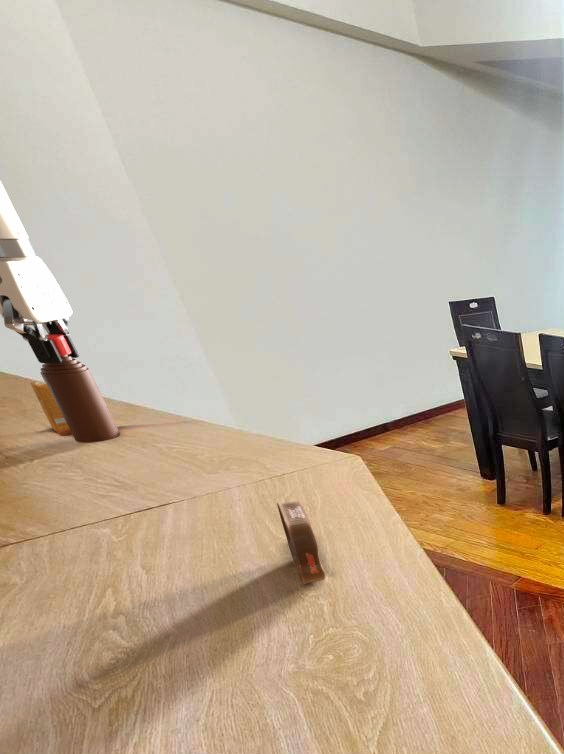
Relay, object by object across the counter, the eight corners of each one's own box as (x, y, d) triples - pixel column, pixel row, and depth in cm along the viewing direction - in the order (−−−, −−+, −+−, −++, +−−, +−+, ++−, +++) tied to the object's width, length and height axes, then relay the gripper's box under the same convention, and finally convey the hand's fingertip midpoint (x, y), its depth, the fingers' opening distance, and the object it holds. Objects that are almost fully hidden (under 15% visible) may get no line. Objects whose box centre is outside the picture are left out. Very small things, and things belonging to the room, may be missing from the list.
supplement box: (84, 432, 119) (57, 382, 114) (60, 436, 117) (32, 385, 112) (77, 429, 121) (51, 379, 116) (54, 433, 118) (26, 383, 113)
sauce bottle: (69, 443, 114) (16, 342, 104) (83, 433, 118) (33, 336, 109) (113, 440, 116) (65, 341, 107) (124, 430, 121) (79, 335, 112)
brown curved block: (289, 549, 83) (268, 494, 79) (315, 542, 85) (296, 489, 81) (306, 596, 73) (283, 537, 69) (335, 588, 75) (314, 530, 71)
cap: (69, 355, 109) (60, 337, 107) (38, 356, 107) (29, 338, 105) (73, 351, 112) (65, 333, 110) (44, 352, 110) (35, 334, 108)
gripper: (-9, 254, 95) (52, 369, 104) (64, 248, 109) (113, 351, 118) (-69, 252, 93) (-1, 370, 102) (13, 247, 107) (67, 351, 116)
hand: (59, 359), depth 110 cm, fingers closed on cap, 3 cm apart
